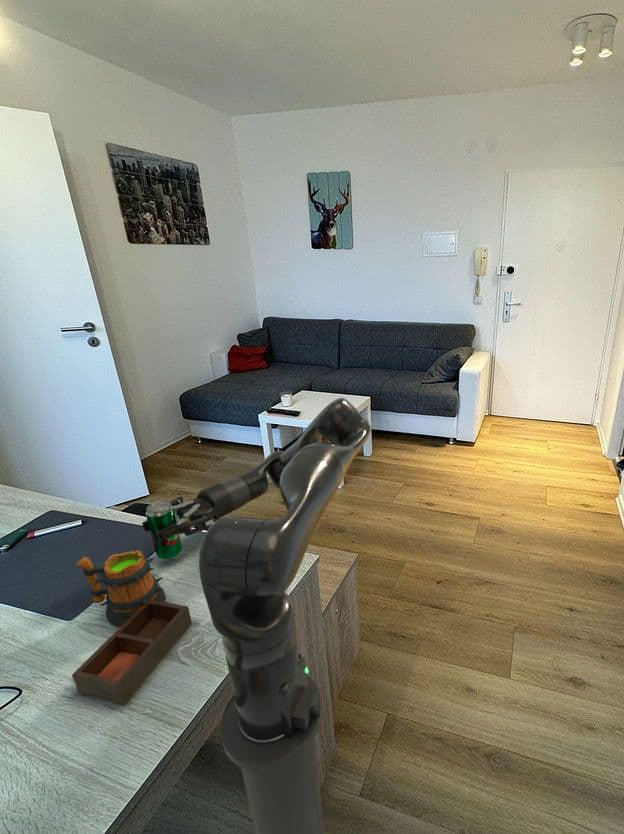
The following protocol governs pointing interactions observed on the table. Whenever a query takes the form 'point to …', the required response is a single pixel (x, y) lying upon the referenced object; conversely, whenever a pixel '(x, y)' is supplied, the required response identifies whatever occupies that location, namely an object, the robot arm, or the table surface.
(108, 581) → the mug
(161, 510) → the soda can
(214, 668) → the table surface
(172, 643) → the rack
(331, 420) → the robot arm
